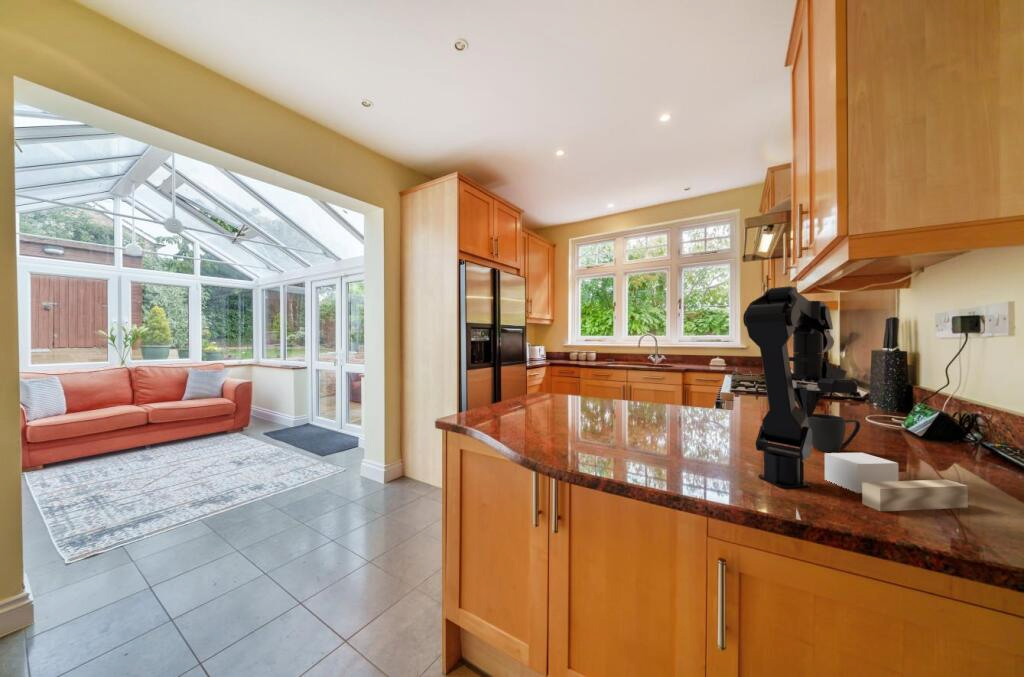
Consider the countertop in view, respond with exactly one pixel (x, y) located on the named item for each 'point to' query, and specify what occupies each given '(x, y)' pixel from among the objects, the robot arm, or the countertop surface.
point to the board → (914, 495)
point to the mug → (830, 432)
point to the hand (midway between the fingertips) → (807, 416)
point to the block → (858, 470)
